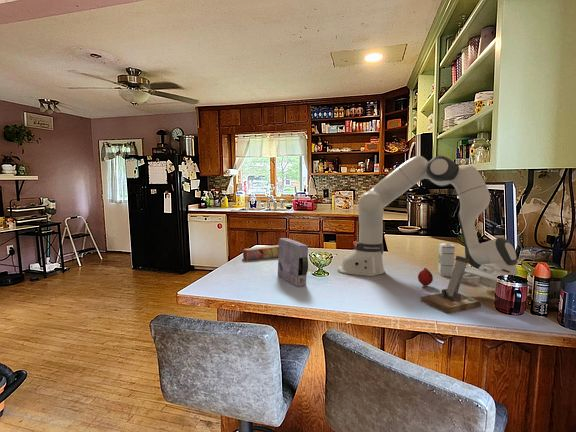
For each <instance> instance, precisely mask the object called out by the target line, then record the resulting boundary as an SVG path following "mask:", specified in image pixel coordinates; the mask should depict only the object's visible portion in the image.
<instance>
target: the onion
mask: <svg viewBox="0 0 576 432" xmlns="http://www.w3.org/2000/svg"><path fill="white" fill-rule="evenodd" d="M433 279H434V277H433V274H432V272H431V271H430V270H429V269H428V268H427V267H424V268H423V270H421V271H419V273H418V275H417V280H418V282H419V283H420V284H421V285H422V286H423V287H427V286H429V285H431V284H432V282H433V281H434V280H433Z"/></svg>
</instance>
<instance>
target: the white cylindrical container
mask: <svg viewBox="0 0 576 432" xmlns="http://www.w3.org/2000/svg"><path fill="white" fill-rule="evenodd" d="M455 247H456V246H455V245H454V244H453V243H445V242H444V243H443V242H442V243H439V246H438V248H439V249H438V263H437V264H438V265H437V266H438V267H437V269H438V270H437V273H438V274H439V275H440V276H441V277H451V276H452V270H453V267H454V266H455V250H456V249H455Z"/></svg>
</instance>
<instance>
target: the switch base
mask: <svg viewBox="0 0 576 432" xmlns="http://www.w3.org/2000/svg"><path fill="white" fill-rule="evenodd" d="M446 291H447V288H445V289H441V292H439V293H434V294H428V295H421V297H420V302H421V303H422V304H425V305H427V306H430V307H432V308H433V309H435V310H439V311H441V312H443V313H445V314H447V315H449V314H453V313H457V312H463V311H468V310H473V309H478V308H482V301H481V300H479V299H476V298H474V297H470V296H468V295H465V294H462V293H460V292H458V293H457V294H454V298H453V299H452V298H449V297H447V296H446Z"/></svg>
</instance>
